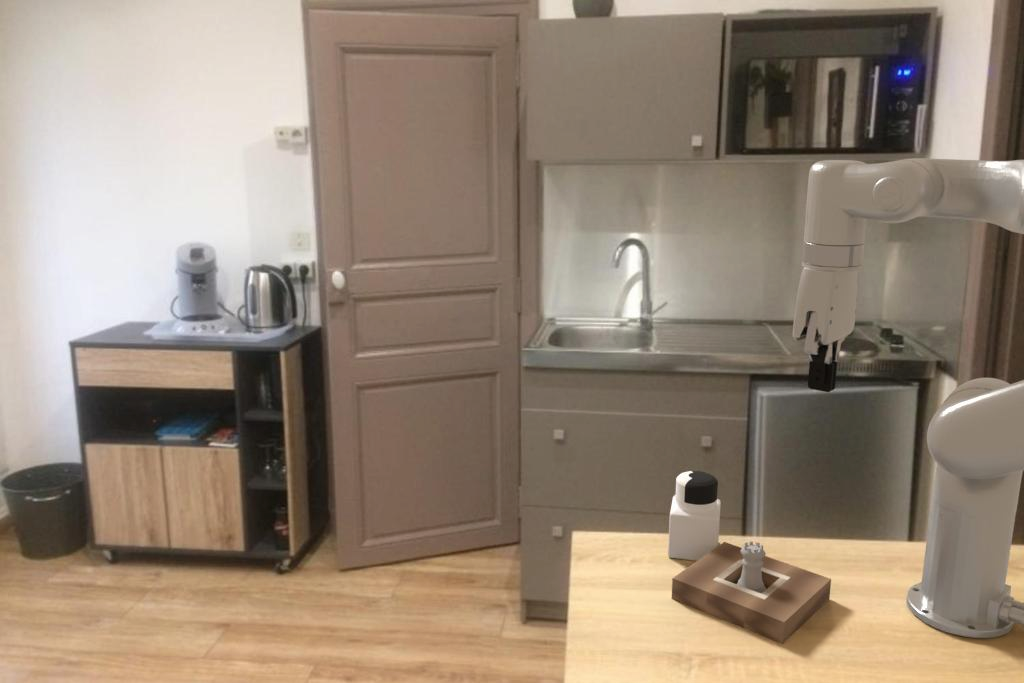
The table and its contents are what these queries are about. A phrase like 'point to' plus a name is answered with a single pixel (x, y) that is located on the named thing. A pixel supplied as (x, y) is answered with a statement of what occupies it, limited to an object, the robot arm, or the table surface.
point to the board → (752, 592)
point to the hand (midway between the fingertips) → (821, 388)
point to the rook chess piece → (752, 567)
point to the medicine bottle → (694, 516)
